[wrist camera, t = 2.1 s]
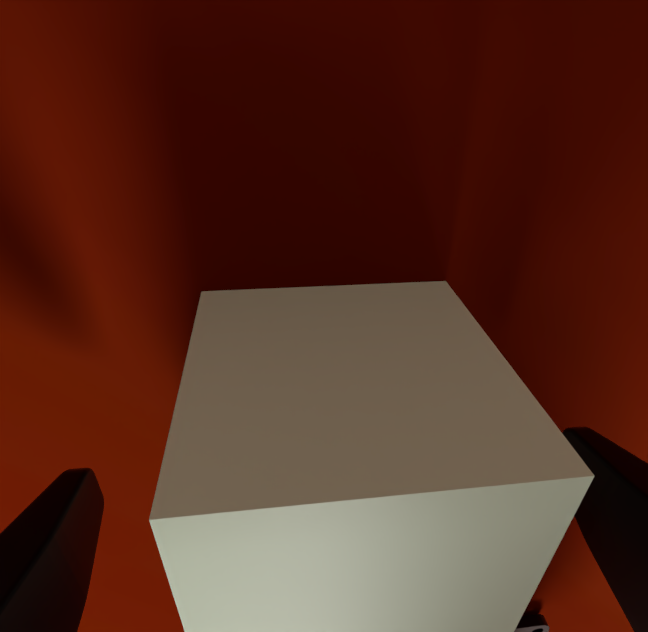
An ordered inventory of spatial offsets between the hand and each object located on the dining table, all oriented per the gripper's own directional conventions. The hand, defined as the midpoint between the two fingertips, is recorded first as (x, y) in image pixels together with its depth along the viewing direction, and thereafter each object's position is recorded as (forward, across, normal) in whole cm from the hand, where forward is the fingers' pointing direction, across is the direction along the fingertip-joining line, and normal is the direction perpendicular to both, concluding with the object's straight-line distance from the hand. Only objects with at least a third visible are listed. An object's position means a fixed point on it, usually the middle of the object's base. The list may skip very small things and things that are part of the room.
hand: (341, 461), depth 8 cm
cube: (+2, 0, 0) cm, 2 cm away
